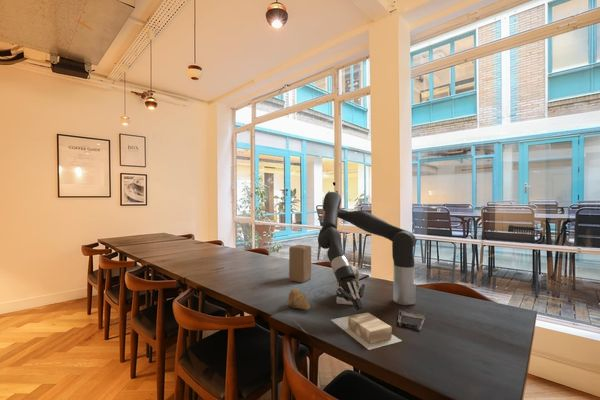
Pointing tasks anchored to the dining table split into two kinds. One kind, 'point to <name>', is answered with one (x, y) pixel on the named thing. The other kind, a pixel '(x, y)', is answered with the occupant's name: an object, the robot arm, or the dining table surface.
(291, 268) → the wooden block
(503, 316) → the dining table surface
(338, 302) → the tea box
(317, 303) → the dining table surface
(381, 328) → the maple slab
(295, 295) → the seashell
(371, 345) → the felt mat
